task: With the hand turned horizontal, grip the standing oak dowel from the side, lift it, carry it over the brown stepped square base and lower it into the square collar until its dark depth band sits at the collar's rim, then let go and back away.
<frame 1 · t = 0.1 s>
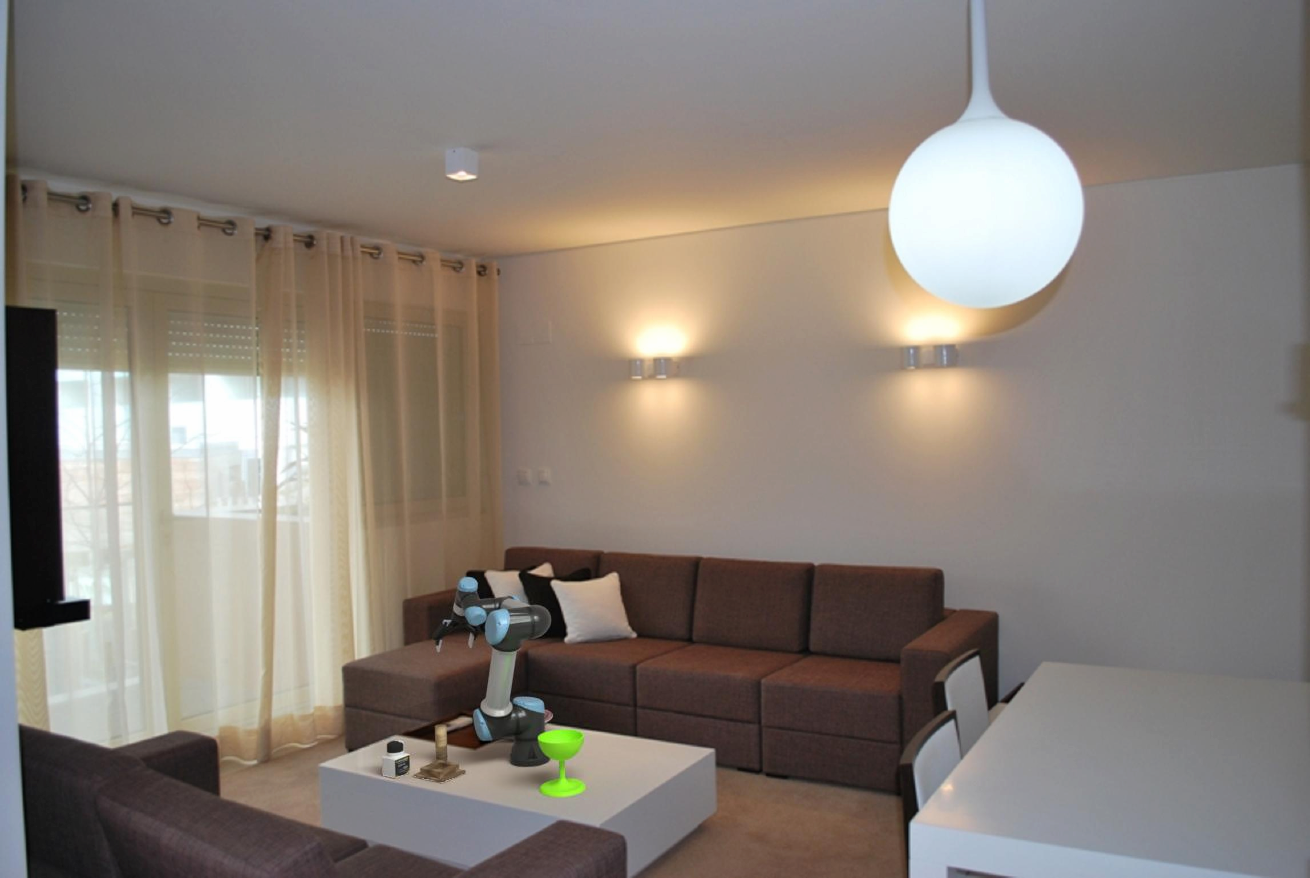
hand: (453, 647, 397), 36 cm above the table, tool tilted 35°, fingers open, 13 cm apart
medicine bottle: (396, 775, 351), on the table
ceramic bowl: (517, 737, 393), on the table
wineglass: (562, 789, 332), on the table
oak dowel: (441, 763, 362), on the table
brown stepped square base: (440, 775, 349), on the table
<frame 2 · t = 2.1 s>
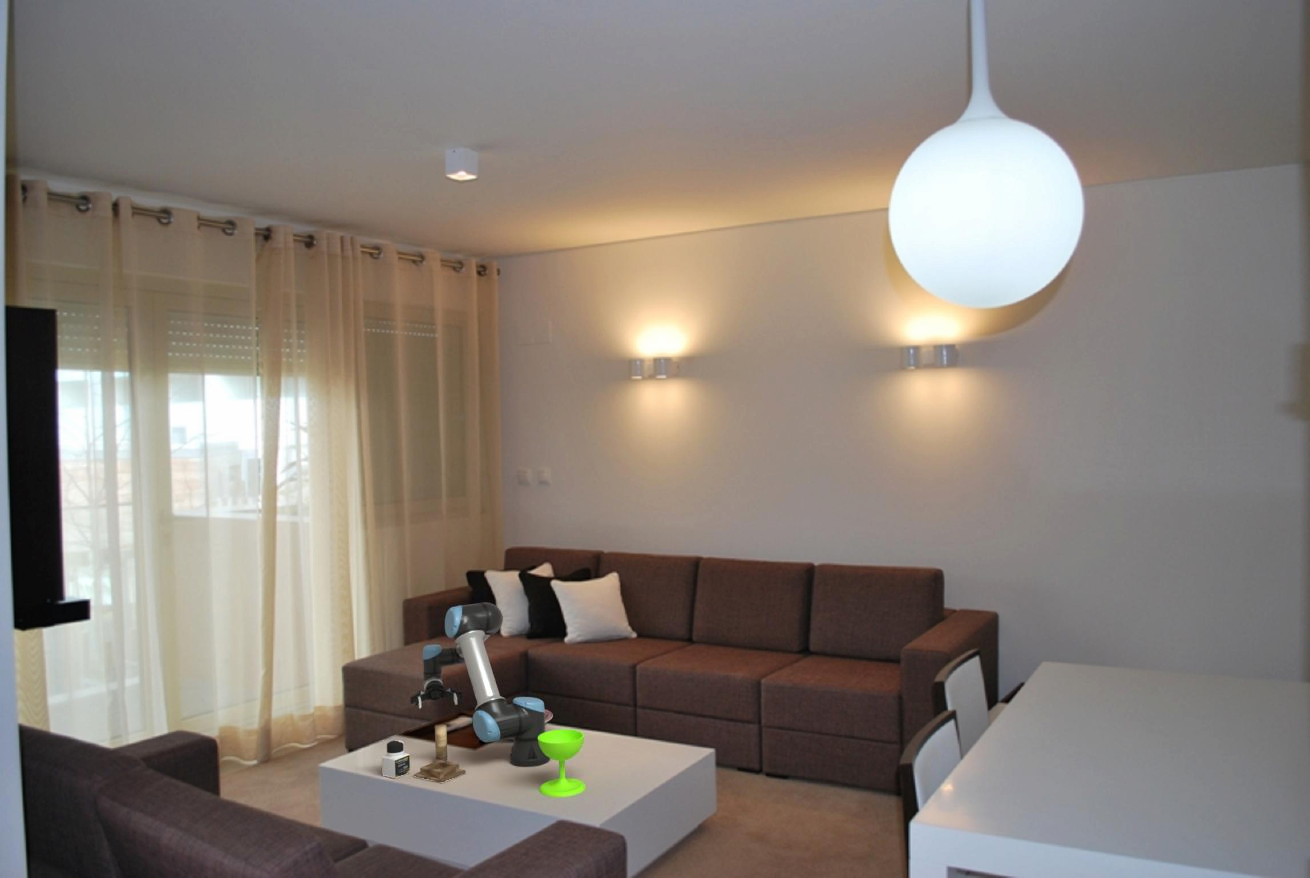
hand: (438, 703, 371), 20 cm above the table, tool horizontal, fingers open, 13 cm apart
nothing on the table moved.
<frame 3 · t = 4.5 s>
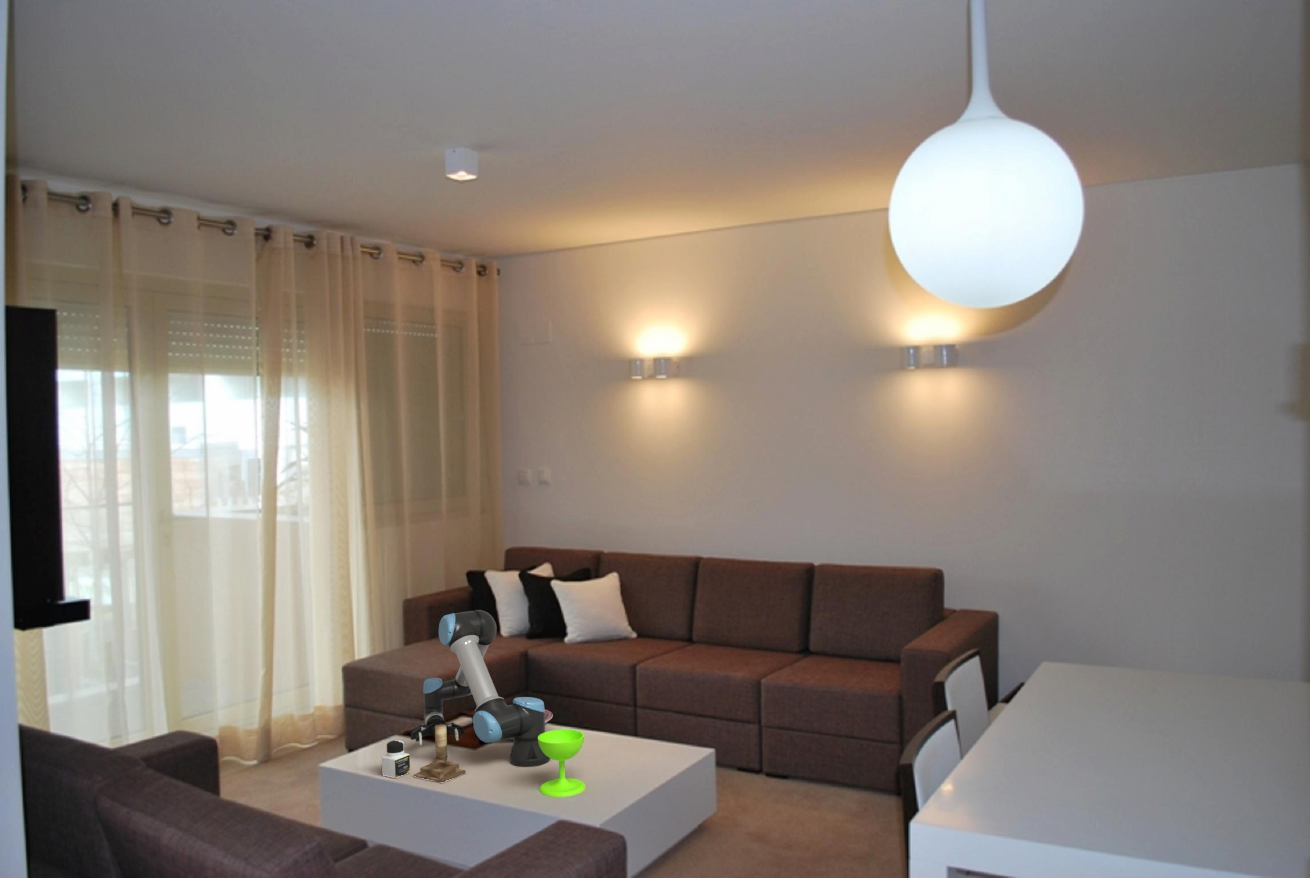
hand: (439, 739, 366), 8 cm above the table, tool horizontal, fingers open, 13 cm apart
nothing on the table moved.
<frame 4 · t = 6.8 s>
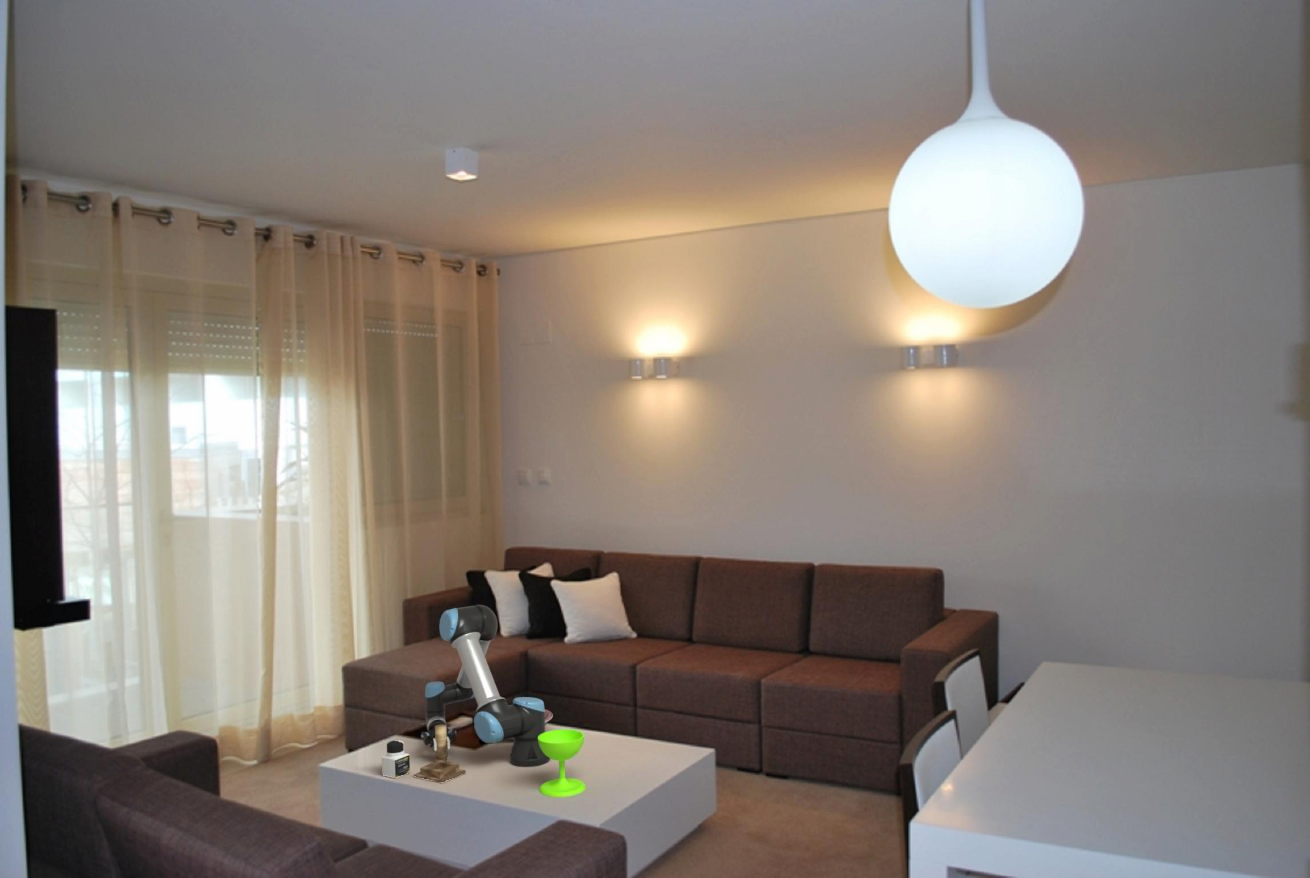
hand: (442, 746, 357), 8 cm above the table, tool horizontal, fingers closed on oak dowel, 4 cm apart
oak dowel: (441, 763, 362), on the table, touching gripper
everything else where it was.
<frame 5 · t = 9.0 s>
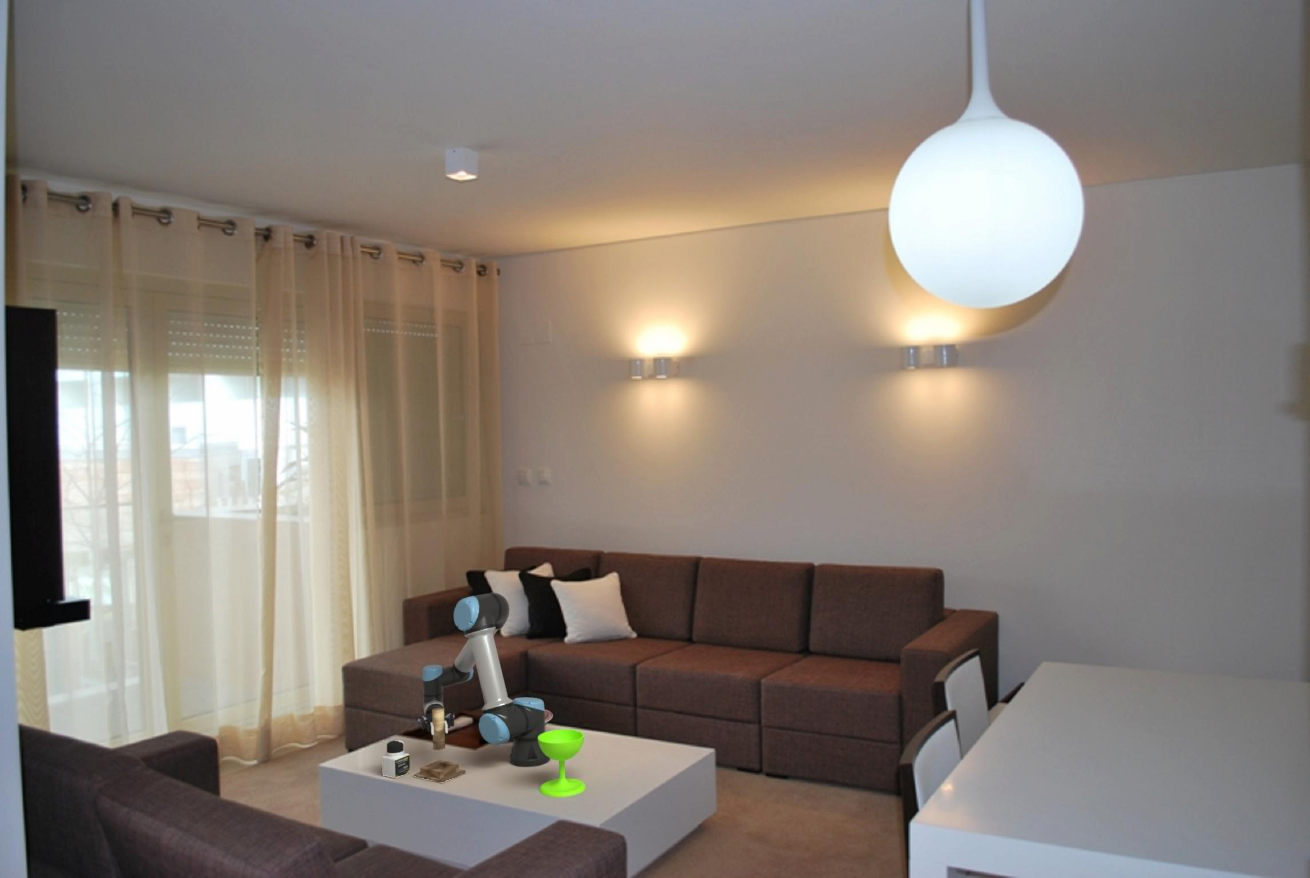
hand: (439, 730, 344), 18 cm above the table, tool horizontal, fingers closed on oak dowel, 4 cm apart
oak dowel: (439, 748, 349), point 10 cm above the table, touching gripper
everything else where it was.
when the fingers open (9 cm above the table, at t = 11.1 s): oak dowel stays where it is, resting on brown stepped square base.
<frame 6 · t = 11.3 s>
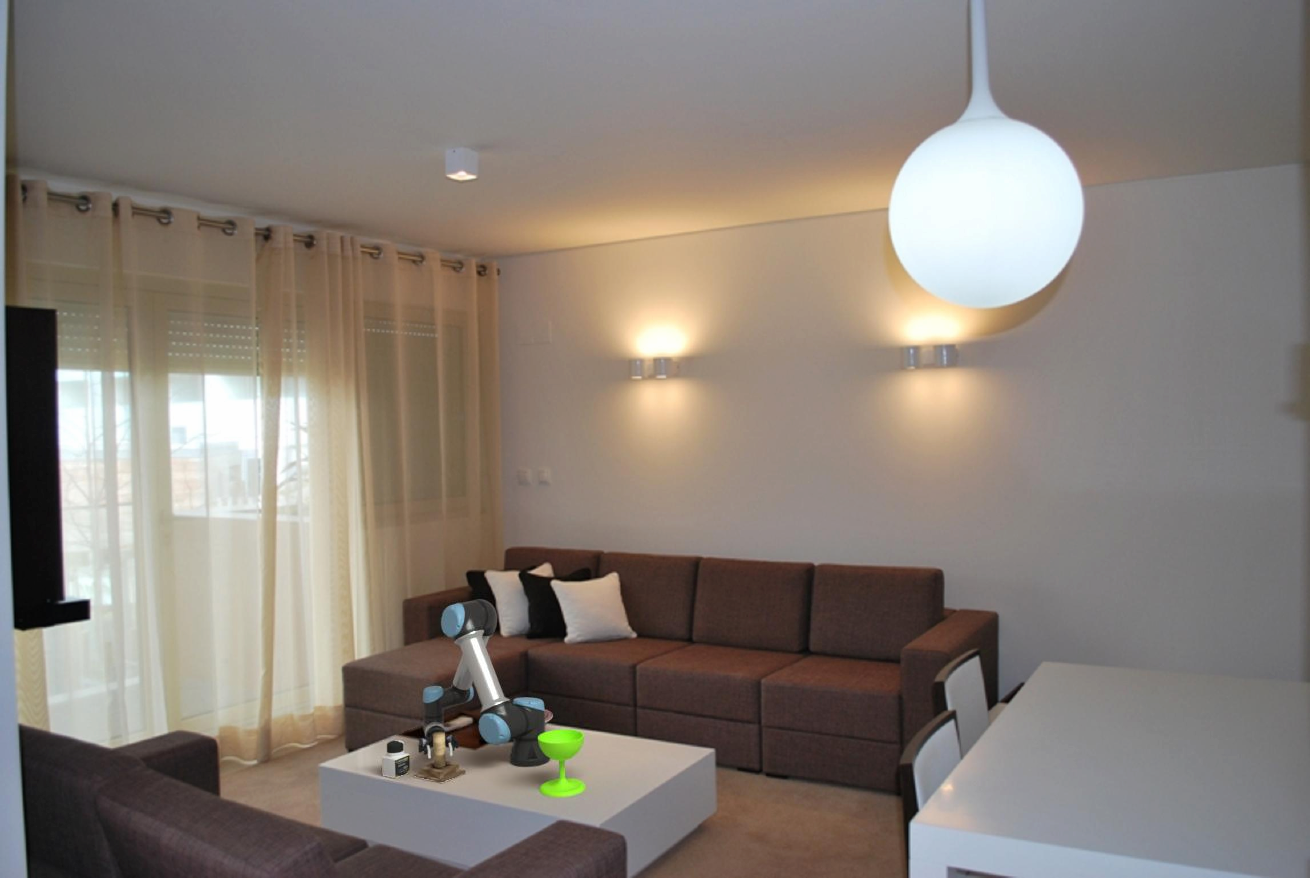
hand: (440, 753, 344), 9 cm above the table, tool horizontal, fingers open, 7 cm apart
oak dowel: (439, 772, 349), point 1 cm above the table, touching brown stepped square base
everything else where it was.
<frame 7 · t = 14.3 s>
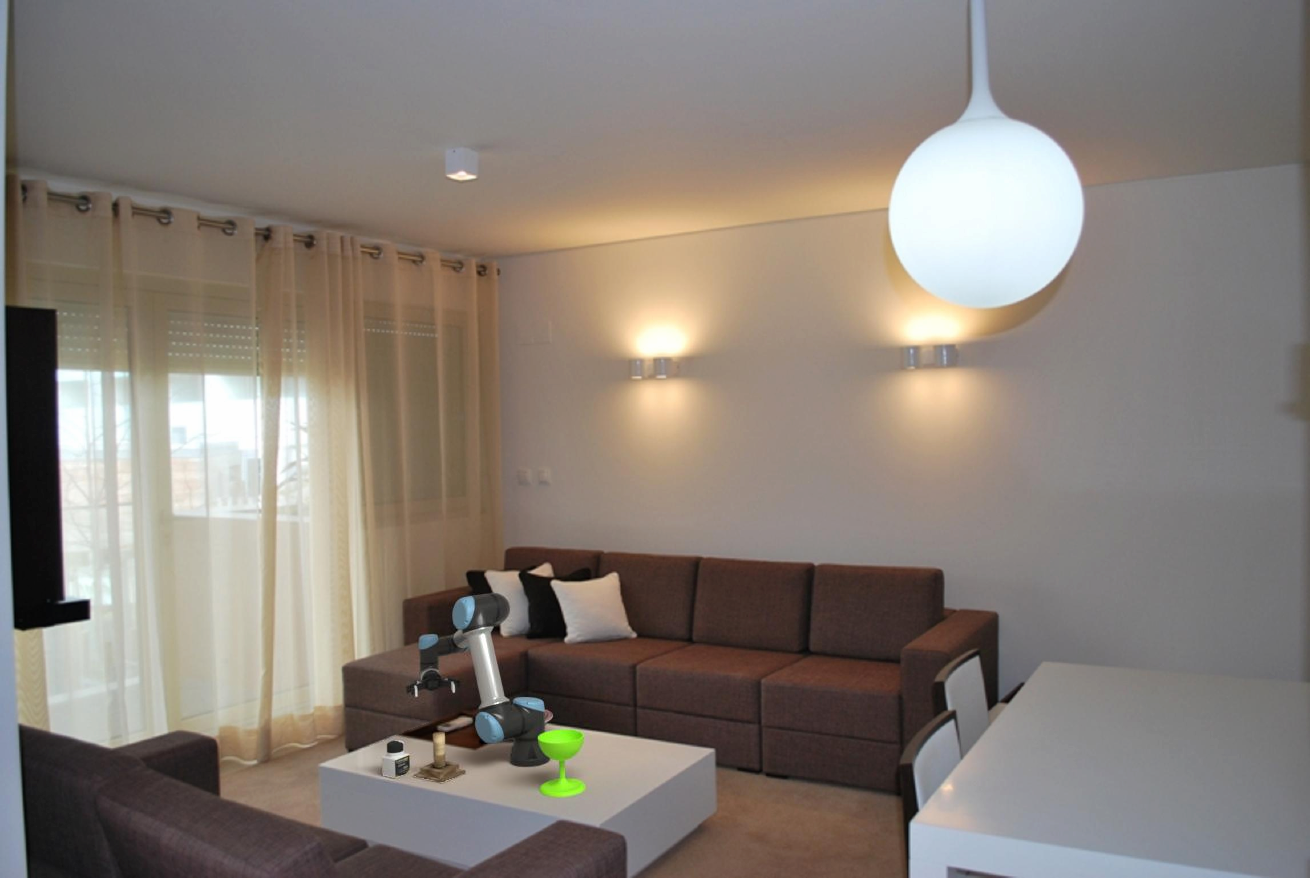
hand: (435, 691, 358), 28 cm above the table, tool horizontal, fingers open, 13 cm apart
nothing on the table moved.
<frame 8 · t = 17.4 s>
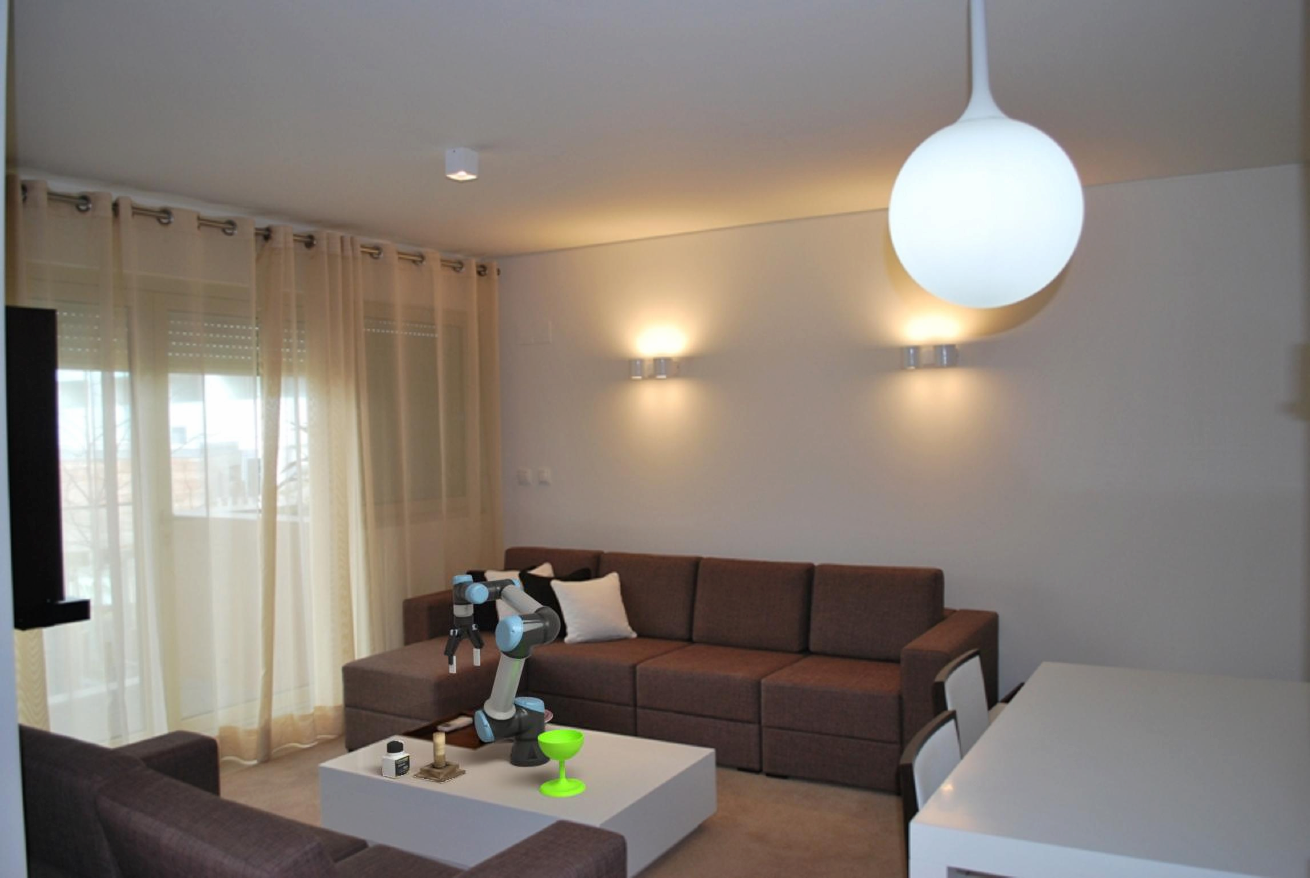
hand: (465, 669, 377), 32 cm above the table, tool pointing down, fingers open, 13 cm apart
nothing on the table moved.
at the end: oak dowel 0.0 cm off-centre on the brown stepped square base, point 1.0 cm above the brown stepped square base's base; oak dowel tilted 0°; the gripper is holding nothing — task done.
